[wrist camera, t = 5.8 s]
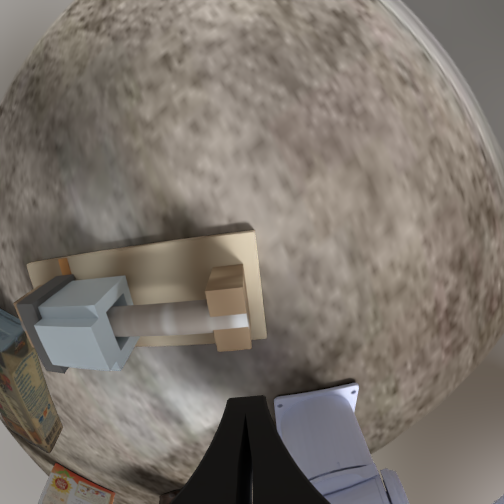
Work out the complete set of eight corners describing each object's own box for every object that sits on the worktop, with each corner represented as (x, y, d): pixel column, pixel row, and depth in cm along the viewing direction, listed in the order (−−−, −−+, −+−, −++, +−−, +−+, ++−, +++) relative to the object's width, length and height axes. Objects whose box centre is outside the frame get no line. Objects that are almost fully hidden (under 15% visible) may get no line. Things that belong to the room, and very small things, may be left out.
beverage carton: (33, 322, 20) (-3, 356, 14) (67, 427, 25) (50, 458, 19) (-9, 299, 19) (-43, 325, 13) (27, 406, 24) (9, 432, 18)
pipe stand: (254, 229, 18) (257, 248, 13) (266, 334, 20) (271, 372, 16) (30, 262, 18) (-2, 280, 14) (58, 340, 20) (34, 366, 16)
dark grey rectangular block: (73, 274, 17) (32, 304, 12) (94, 334, 19) (64, 373, 14) (56, 275, 17) (15, 304, 12) (77, 334, 19) (46, 370, 14)
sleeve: (125, 275, 17) (85, 313, 12) (142, 332, 18) (115, 381, 13) (72, 280, 17) (29, 314, 12) (90, 332, 18) (57, 374, 13)
